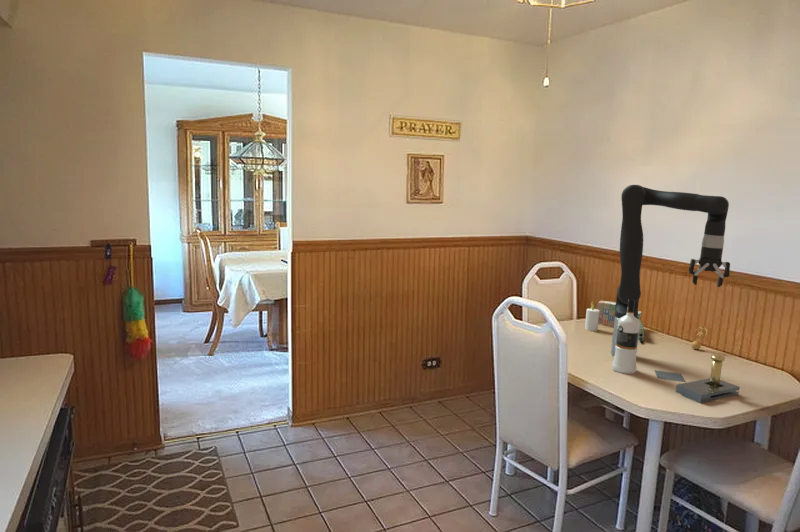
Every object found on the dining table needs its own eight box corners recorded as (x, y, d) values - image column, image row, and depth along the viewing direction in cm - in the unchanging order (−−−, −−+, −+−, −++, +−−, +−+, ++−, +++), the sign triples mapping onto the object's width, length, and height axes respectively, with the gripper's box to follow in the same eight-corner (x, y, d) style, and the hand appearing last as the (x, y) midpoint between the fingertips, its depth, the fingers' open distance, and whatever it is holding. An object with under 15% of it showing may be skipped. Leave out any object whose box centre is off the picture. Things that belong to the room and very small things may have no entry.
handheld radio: (640, 331, 283) (645, 345, 260) (634, 331, 284) (638, 344, 261) (641, 319, 282) (646, 331, 259) (634, 319, 283) (638, 331, 260)
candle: (598, 331, 279) (601, 303, 277) (585, 330, 280) (588, 302, 278) (597, 328, 285) (599, 300, 283) (584, 327, 287) (586, 299, 284)
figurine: (686, 346, 259) (689, 322, 257) (698, 346, 259) (701, 322, 257) (696, 352, 251) (700, 326, 249) (709, 352, 251) (712, 327, 249)
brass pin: (707, 393, 200) (712, 357, 198) (705, 389, 204) (709, 354, 202) (721, 395, 198) (726, 359, 196) (718, 391, 203) (723, 355, 200)
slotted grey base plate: (700, 403, 191) (701, 394, 190) (675, 392, 200) (676, 384, 199) (738, 395, 200) (739, 386, 199) (713, 385, 209) (714, 377, 208)
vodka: (640, 374, 217) (649, 302, 213) (619, 375, 216) (627, 301, 211) (628, 366, 226) (635, 296, 222) (607, 367, 225) (614, 296, 220)
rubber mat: (657, 379, 213) (657, 378, 213) (654, 371, 222) (654, 370, 222) (685, 383, 210) (685, 382, 210) (681, 374, 219) (681, 373, 219)
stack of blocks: (639, 328, 289) (642, 305, 287) (637, 330, 284) (640, 308, 282) (598, 321, 300) (600, 299, 299) (595, 323, 295) (597, 301, 293)
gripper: (694, 245, 216) (689, 285, 219) (735, 248, 212) (729, 289, 214) (690, 243, 223) (685, 282, 226) (729, 246, 219) (724, 285, 222)
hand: (706, 285), depth 220 cm, fingers open, 8 cm apart
